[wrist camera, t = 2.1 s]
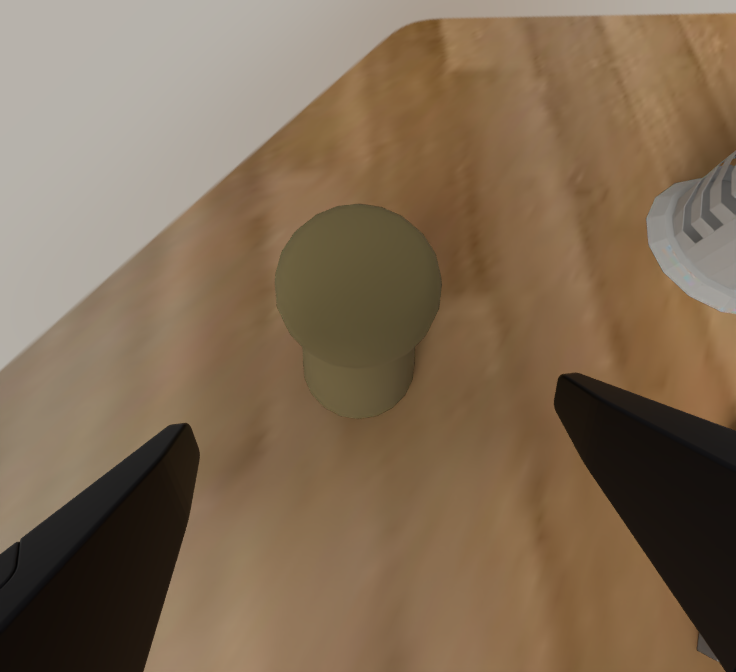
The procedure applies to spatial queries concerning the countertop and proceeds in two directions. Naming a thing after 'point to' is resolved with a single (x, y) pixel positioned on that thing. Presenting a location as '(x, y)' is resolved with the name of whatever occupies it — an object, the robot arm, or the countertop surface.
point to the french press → (699, 236)
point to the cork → (358, 305)
